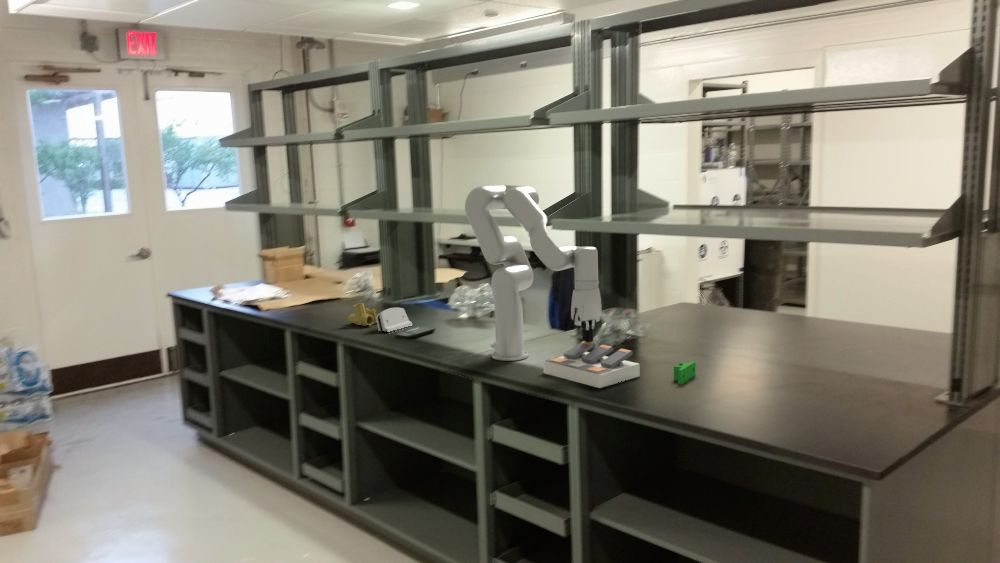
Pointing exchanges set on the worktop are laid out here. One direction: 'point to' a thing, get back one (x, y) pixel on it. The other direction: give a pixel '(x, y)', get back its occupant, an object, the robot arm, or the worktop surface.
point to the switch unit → (591, 371)
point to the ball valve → (362, 315)
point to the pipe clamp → (684, 372)
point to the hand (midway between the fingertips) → (587, 340)
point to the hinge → (392, 319)
